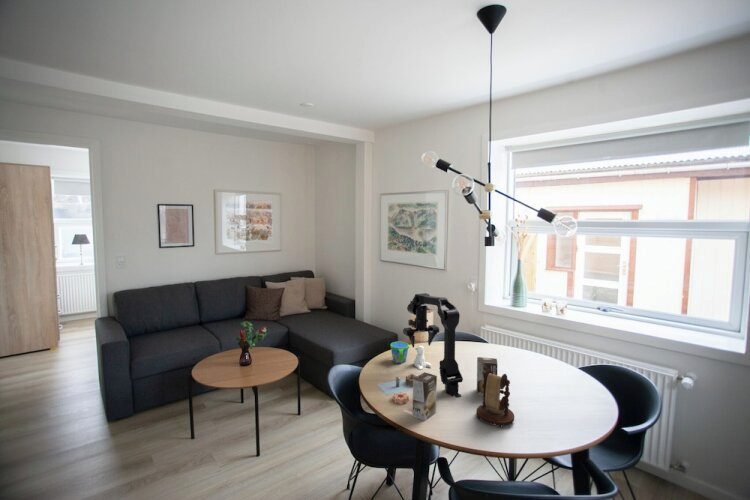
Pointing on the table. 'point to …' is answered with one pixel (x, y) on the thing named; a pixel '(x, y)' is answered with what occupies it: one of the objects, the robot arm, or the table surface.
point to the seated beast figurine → (421, 359)
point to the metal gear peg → (397, 381)
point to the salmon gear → (400, 398)
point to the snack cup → (399, 352)
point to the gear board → (391, 387)
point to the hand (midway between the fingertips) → (421, 346)
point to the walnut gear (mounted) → (410, 379)
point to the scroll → (495, 400)
